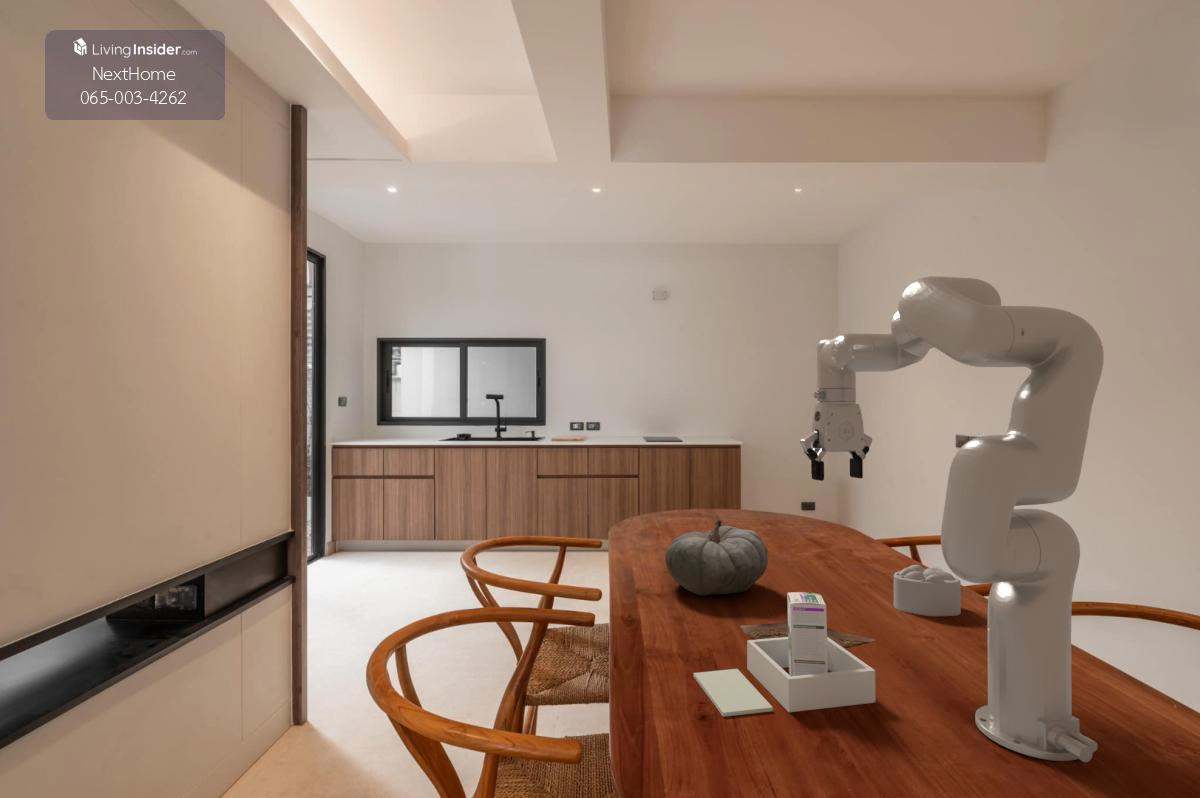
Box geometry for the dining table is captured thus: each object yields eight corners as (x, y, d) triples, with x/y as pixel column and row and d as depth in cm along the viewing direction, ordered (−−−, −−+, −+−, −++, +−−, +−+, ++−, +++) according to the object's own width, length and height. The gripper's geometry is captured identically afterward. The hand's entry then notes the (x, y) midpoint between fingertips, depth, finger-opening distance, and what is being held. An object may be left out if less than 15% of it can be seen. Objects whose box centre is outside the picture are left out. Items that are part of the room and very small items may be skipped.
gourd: (795, 585, 141) (780, 514, 141) (710, 620, 130) (694, 543, 131) (731, 569, 164) (718, 507, 164) (654, 597, 153) (641, 531, 153)
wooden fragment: (737, 640, 117) (737, 635, 117) (741, 620, 127) (741, 615, 127) (881, 657, 109) (881, 651, 109) (872, 634, 119) (872, 629, 119)
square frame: (875, 702, 92) (875, 670, 92) (788, 712, 89) (788, 679, 89) (823, 661, 106) (823, 633, 106) (747, 668, 104) (747, 640, 104)
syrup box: (829, 695, 94) (828, 604, 94) (790, 691, 96) (790, 602, 96) (823, 678, 100) (822, 592, 100) (787, 675, 101) (786, 590, 101)
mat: (772, 711, 90) (772, 707, 90) (723, 716, 88) (723, 712, 88) (737, 672, 102) (737, 668, 102) (693, 676, 101) (693, 673, 101)
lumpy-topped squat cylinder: (967, 615, 128) (967, 576, 128) (908, 616, 128) (907, 576, 128) (938, 599, 138) (938, 562, 138) (884, 600, 138) (883, 563, 138)
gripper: (813, 397, 118) (814, 483, 118) (883, 397, 123) (884, 479, 123) (790, 397, 125) (791, 478, 125) (857, 397, 131) (858, 474, 130)
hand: (837, 478), depth 124 cm, fingers open, 9 cm apart
